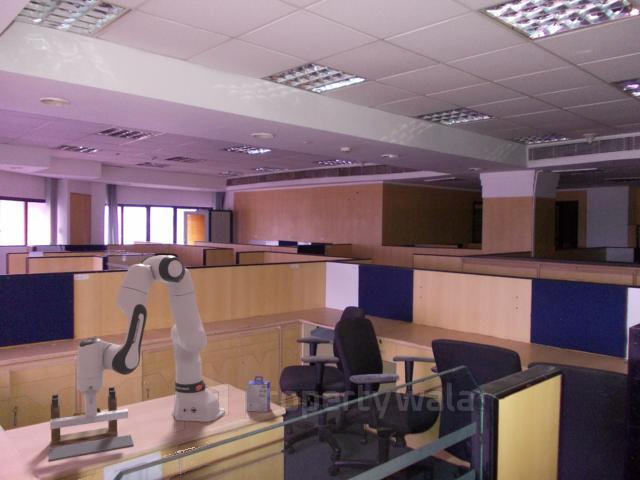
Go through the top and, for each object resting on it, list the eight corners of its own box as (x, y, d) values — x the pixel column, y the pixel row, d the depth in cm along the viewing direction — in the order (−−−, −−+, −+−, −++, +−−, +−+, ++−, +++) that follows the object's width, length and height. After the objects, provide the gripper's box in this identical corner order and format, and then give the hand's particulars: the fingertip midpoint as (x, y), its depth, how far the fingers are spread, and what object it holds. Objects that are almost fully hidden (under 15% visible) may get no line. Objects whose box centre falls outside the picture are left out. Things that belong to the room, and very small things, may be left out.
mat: (130, 435, 202) (130, 434, 202) (133, 445, 193) (133, 444, 193) (49, 450, 189) (49, 448, 189) (48, 461, 180) (48, 459, 180)
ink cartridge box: (271, 408, 231) (270, 375, 231) (267, 412, 226) (267, 379, 225) (249, 406, 233) (249, 375, 233) (246, 411, 228) (245, 378, 227)
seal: (63, 428, 213) (102, 422, 219) (62, 417, 212) (102, 411, 218) (64, 418, 222) (102, 412, 227) (63, 407, 221) (101, 402, 227)
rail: (127, 415, 198) (127, 408, 198) (128, 417, 195) (128, 411, 195) (50, 426, 186) (50, 419, 186) (50, 429, 184) (50, 422, 184)
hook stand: (116, 429, 208) (115, 386, 207) (117, 435, 202) (116, 390, 202) (51, 440, 198) (50, 395, 197) (51, 446, 192) (50, 400, 192)
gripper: (101, 390, 182) (101, 429, 183) (98, 375, 201) (98, 410, 201) (81, 392, 180) (81, 432, 180) (80, 377, 198) (80, 412, 198)
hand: (90, 420), depth 191 cm, fingers closed on rail, 3 cm apart
